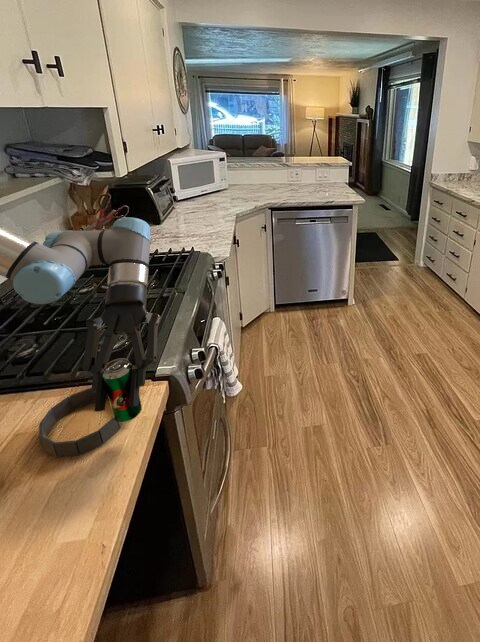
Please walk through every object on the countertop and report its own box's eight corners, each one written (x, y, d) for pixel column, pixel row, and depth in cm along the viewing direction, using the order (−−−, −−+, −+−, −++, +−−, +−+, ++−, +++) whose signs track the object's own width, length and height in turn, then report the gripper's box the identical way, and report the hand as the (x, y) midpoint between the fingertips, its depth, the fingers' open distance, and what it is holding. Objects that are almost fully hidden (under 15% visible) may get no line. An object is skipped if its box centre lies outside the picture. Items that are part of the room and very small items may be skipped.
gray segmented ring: (26, 441, 72) (21, 428, 70) (94, 391, 84) (91, 379, 83) (77, 468, 67) (72, 454, 65) (140, 410, 79) (138, 398, 78)
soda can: (147, 410, 72) (136, 362, 68) (123, 428, 68) (110, 378, 64) (133, 400, 75) (122, 353, 70) (108, 416, 71) (95, 368, 66)
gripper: (177, 289, 80) (173, 401, 71) (88, 296, 77) (72, 415, 68) (168, 279, 73) (163, 401, 64) (70, 286, 70) (50, 416, 61)
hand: (116, 408), depth 66 cm, fingers closed on soda can, 5 cm apart
